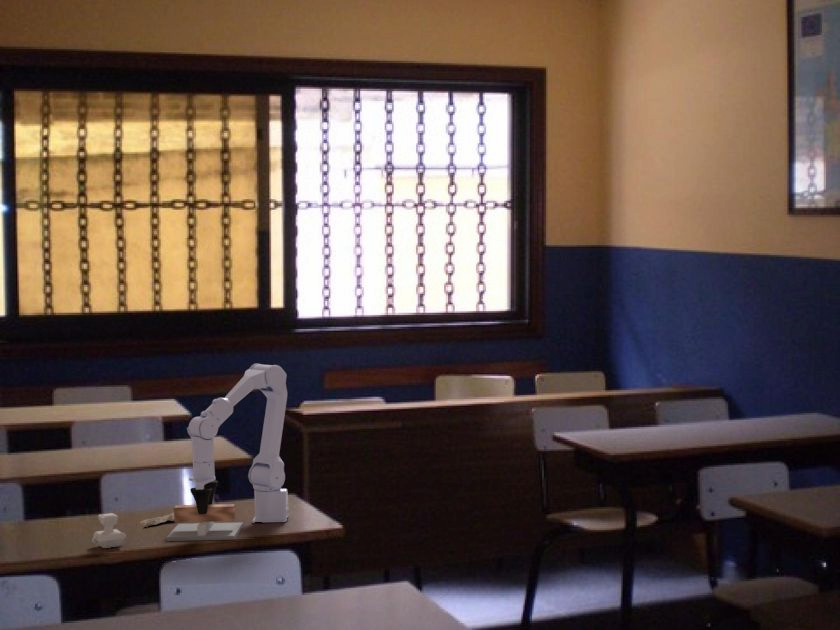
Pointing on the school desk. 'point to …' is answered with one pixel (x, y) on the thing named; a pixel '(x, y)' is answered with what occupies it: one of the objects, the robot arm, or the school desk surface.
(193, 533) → the board
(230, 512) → the stick
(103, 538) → the stamp
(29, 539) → the school desk surface
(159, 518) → the stone fragment
